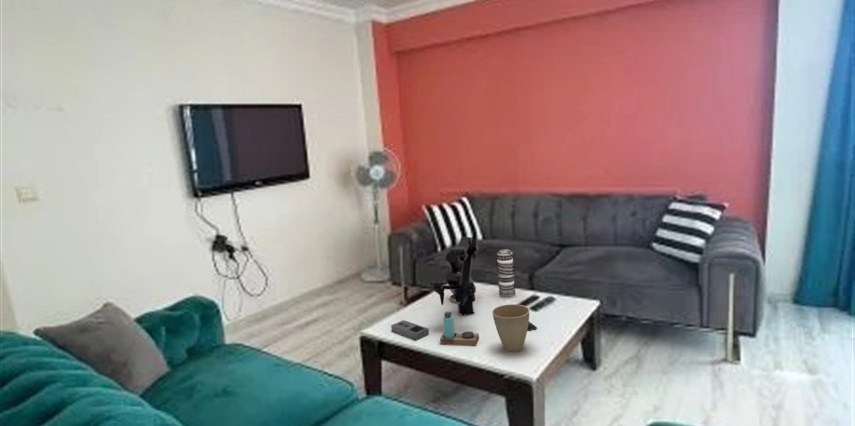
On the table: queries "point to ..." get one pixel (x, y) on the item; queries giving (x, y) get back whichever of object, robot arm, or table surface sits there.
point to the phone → (531, 327)
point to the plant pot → (511, 325)
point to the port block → (410, 330)
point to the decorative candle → (506, 274)
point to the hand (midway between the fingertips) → (452, 305)
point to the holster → (461, 339)
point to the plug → (448, 325)
